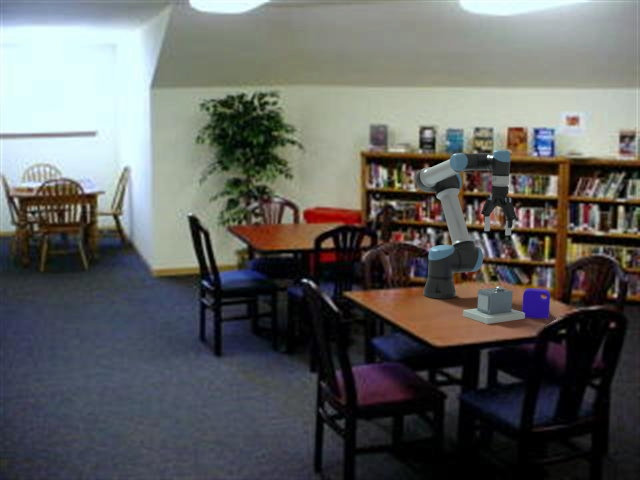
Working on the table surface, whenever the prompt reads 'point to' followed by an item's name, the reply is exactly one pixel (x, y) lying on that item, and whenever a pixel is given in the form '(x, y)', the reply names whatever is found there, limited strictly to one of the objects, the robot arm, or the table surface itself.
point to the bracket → (536, 303)
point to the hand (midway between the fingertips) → (497, 233)
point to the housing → (494, 300)
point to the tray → (493, 316)
